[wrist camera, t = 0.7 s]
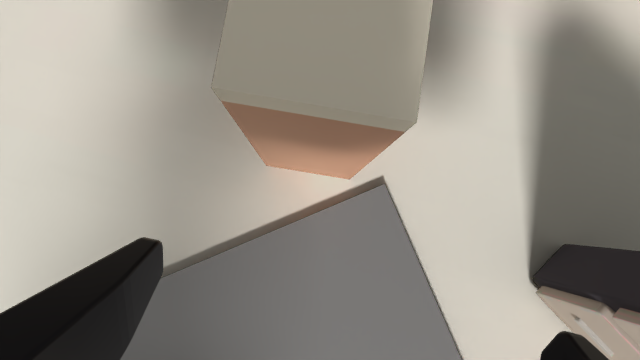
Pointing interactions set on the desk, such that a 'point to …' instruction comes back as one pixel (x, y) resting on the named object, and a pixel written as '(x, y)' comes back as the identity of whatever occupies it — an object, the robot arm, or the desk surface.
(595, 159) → the desk surface
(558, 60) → the desk surface
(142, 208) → the desk surface
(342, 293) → the grey mat
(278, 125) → the peach block
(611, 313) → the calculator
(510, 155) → the desk surface
